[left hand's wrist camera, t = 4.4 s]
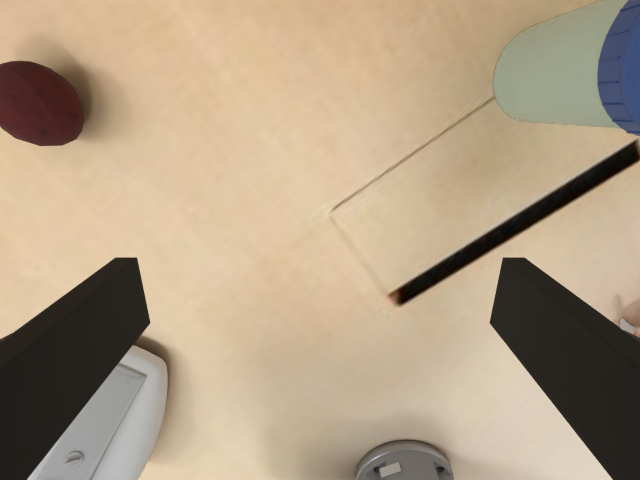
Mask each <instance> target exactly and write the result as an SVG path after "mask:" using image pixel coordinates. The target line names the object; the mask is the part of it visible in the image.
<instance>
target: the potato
mask: <svg viewBox="0 0 640 480" xmlns="http://www.w3.org/2000/svg"><path fill="white" fill-rule="evenodd" d="M83 121H84V117H83V111H82V105H81V102H80V99H79V97H78V95H77V93H76V91H75V89H74V87H73V86H72V85H71V84H70V83H69V82H68V81H67V80H66V79H65V78H63V77H62V76H60V75H59V74H57V73H56V72H54V71H53V70H51V69H50V68H48V67H45V66H42V65H40V64H37V63H33V62H29V61H11V62H7V63H3V64H0V127H1V128H2V129H3V130H5V131H6V132H8V133H9V134H10V135H12V136H13V137H14V138H16V139H19V140H23V141H26V142H29V143H32V144H36V145H39V146H59V145H64V144H67V143H69V142H71V141H73V140H75V139H77V137H78V136H79V134H80V133H81V131H82V128H83Z"/></svg>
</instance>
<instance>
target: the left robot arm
mask: <svg viewBox="0 0 640 480" xmlns="http://www.w3.org/2000/svg"><path fill="white" fill-rule="evenodd" d="M149 324H150V319H149V314H148V309H147V304H146V299H145V295H144V290H143V285H142V280H141V275H140V270H139V265H138V260H137V258H114V259H113V260H112V261H110V262H109V263H108V264H106V265H105V266H104V267H102V268H101V269H99V270H98V271H97V272H95V273H94V274H93V275H91V276H90V277H89V278H87V279H86V280H85V281H83V282H82V283H80V284H79V285H78V286H76V287H75V288H74V289H72V290H71V291H70V292H68V293H67V294H65V295H64V296H63V297H61V298H60V299H59V300H57V301H56V302H55V303H53V304H52V305H51V306H49V307H48V308H46V309H45V310H44V311H42V312H41V313H40V314H38V315H37V316H36V317H34V318H33V319H31V320H30V321H29V322H27V323H26V324H25V325H23V326H22V327H21V328H19V329H18V330H17V331H15V332H14V333H12V334H10V335H8V336H6V337H4V338H2V339H0V480H27V479H28V478H29V476H30V475H31V474H32V473H33V471H34V470H35V469H36V468H37V466H38V465H39V464H40V462H41V461H42V460H43V459H44V457H45V456H46V455H47V454H48V452H49V451H50V450H51V449H52V447H53V446H54V445H55V443H56V442H57V441H58V440H59V438H60V437H61V436H62V435H63V433H64V432H65V431H66V429H67V428H68V427H69V426H70V424H71V423H72V422H73V421H74V419H75V418H76V417H77V415H78V414H79V413H80V412H81V410H82V409H83V408H84V407H85V405H86V404H87V403H88V402H89V400H90V399H91V398H92V396H93V395H94V394H95V393H96V391H97V390H98V389H99V388H100V386H101V385H102V384H103V382H104V381H105V380H106V379H107V377H108V376H109V375H110V374H111V372H112V371H113V370H114V368H115V367H116V366H117V365H118V363H119V362H120V361H121V360H122V358H123V357H124V356H125V355H126V353H127V352H128V351H129V349H130V348H131V347H132V346H133V344H134V343H135V342H136V341H137V339H138V338H139V337H140V335H141V334H142V333H143V332H144V330H145V329H146V328H147V327H148V325H149ZM490 324H491V325H492V327H493V328H494V329H495V330H496V332H497V333H498V334H499V335H500V337H501V338H502V339H503V341H504V342H505V343H506V344H507V346H508V347H509V348H510V349H511V351H512V352H513V353H514V355H515V356H516V357H517V358H518V360H519V361H520V362H521V363H522V365H523V366H524V367H525V368H526V370H527V371H528V372H529V374H530V375H531V376H532V377H533V379H534V380H535V381H536V382H537V384H538V385H539V386H540V388H541V389H542V390H543V391H544V393H545V394H546V395H547V396H548V398H549V399H550V400H551V402H552V403H553V404H554V405H555V407H556V408H557V409H558V410H559V412H560V413H561V414H562V415H563V417H564V418H565V419H566V421H567V422H568V423H569V424H570V426H571V427H572V428H573V429H574V431H575V432H576V433H577V435H578V436H579V437H580V438H581V440H582V441H583V442H584V443H585V445H586V446H587V447H588V449H589V450H590V451H591V452H592V454H593V455H594V456H595V457H596V459H597V460H598V461H599V462H600V464H601V465H602V466H603V468H604V469H605V470H606V471H607V473H608V474H609V475H610V476H611V478H612V479H613V480H640V338H639V337H637V336H635V335H633V334H631V333H629V332H627V331H625V330H622V329H621V328H619V327H618V326H617V325H615V324H614V323H613V322H611V321H610V320H609V319H607V318H606V317H604V316H603V315H602V314H600V313H599V312H598V311H596V310H595V309H594V308H592V307H591V306H589V305H588V304H587V303H585V302H584V301H583V300H581V299H580V298H579V297H577V296H576V295H575V294H573V293H572V292H570V291H569V290H568V289H566V288H565V287H564V286H562V285H561V284H560V283H558V282H557V281H555V280H554V279H553V278H551V277H550V276H549V275H547V274H546V273H545V272H543V271H542V270H541V269H539V268H538V267H536V266H535V265H534V264H532V263H531V262H530V261H528V260H527V259H526V258H503V260H502V265H501V270H500V275H499V280H498V285H497V290H496V295H495V299H494V304H493V309H492V314H491V319H490ZM355 479H356V480H454V478H453V473H452V470H451V468H450V465H449V462H448V460H447V458H446V457H445V456H444V454H443V453H442V452H441V451H439V450H438V449H436V448H435V447H433V446H431V445H428V444H426V443H422V442H417V441H396V442H391V443H387V444H384V445H381V446H379V447H377V448H375V449H373V450H372V451H370V452H369V453H368V454H367V455H365V456H364V457H363V459H362V460H361V461H360V463H359V464H358V466H357V469H356V474H355Z"/></svg>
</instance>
